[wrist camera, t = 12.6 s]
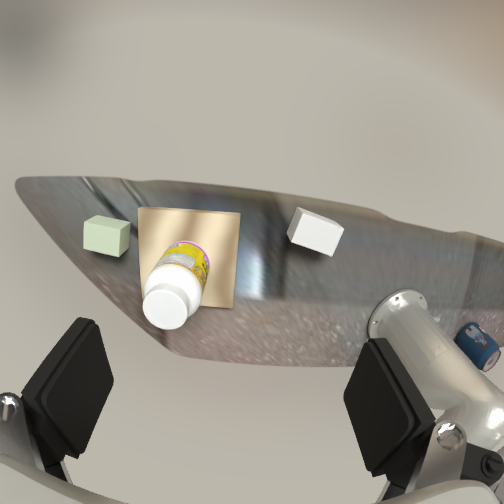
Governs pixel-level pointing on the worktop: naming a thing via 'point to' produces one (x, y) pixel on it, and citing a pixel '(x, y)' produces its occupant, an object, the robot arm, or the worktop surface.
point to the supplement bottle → (176, 285)
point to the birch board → (200, 232)
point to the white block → (314, 231)
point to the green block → (106, 235)
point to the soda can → (478, 346)
